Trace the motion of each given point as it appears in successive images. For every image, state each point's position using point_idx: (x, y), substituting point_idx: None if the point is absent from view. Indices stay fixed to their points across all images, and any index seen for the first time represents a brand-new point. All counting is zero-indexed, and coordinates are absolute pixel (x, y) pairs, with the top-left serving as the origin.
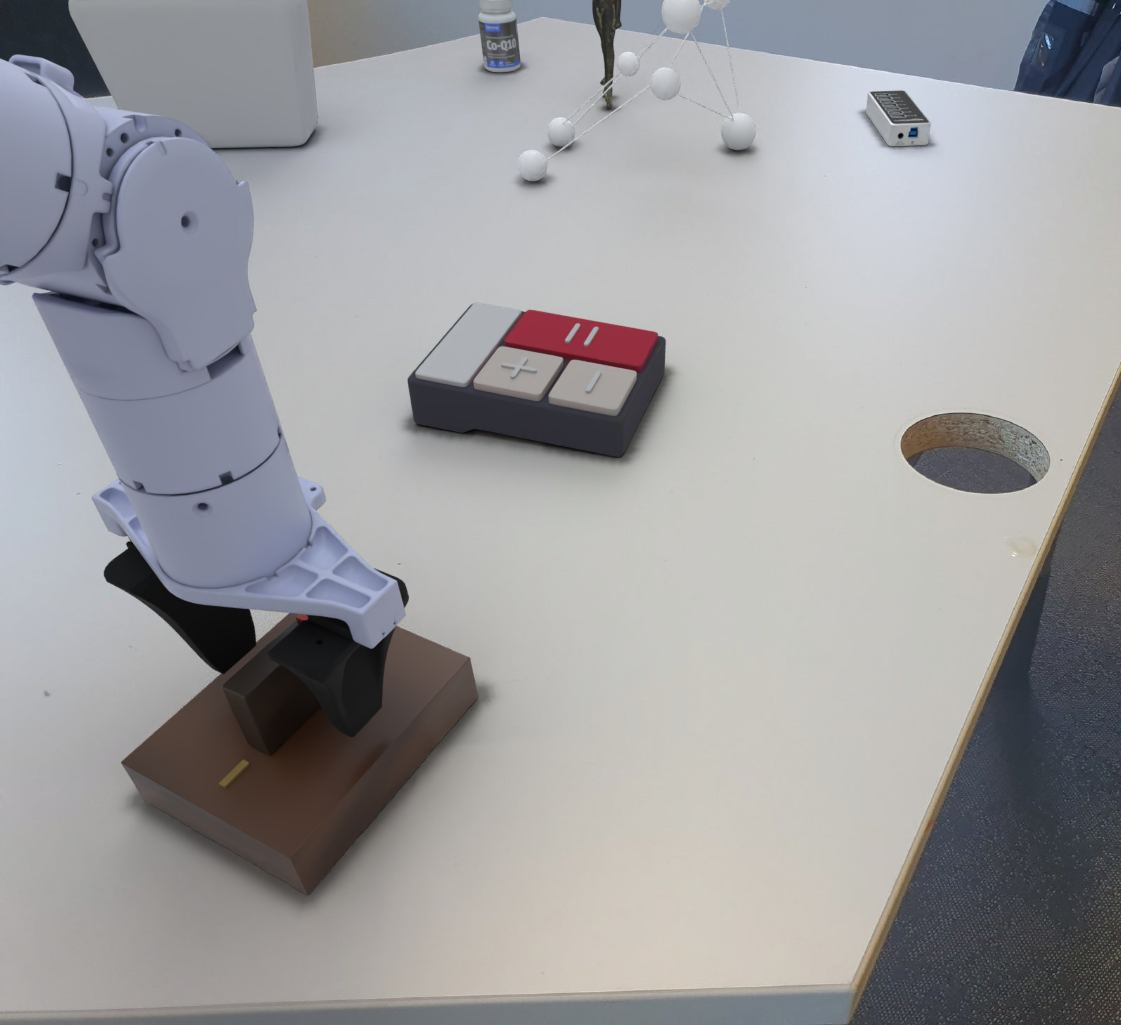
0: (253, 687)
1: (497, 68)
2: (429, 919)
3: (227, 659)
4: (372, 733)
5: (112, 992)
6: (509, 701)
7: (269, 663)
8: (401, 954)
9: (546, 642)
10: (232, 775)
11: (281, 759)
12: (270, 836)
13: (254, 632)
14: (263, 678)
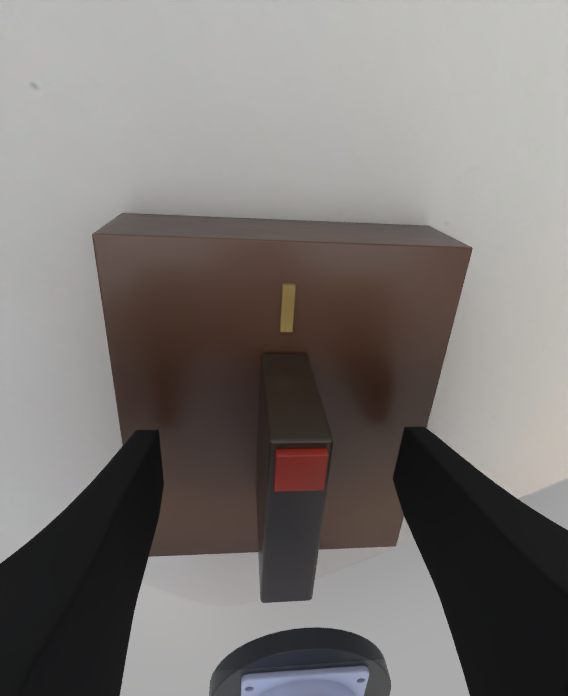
0: (310, 587)
1: None
2: (489, 461)
3: (159, 486)
4: (395, 419)
5: None
6: (475, 212)
7: (299, 555)
8: None
9: (495, 62)
10: None
11: None
12: (363, 542)
13: (153, 443)
14: (311, 572)
